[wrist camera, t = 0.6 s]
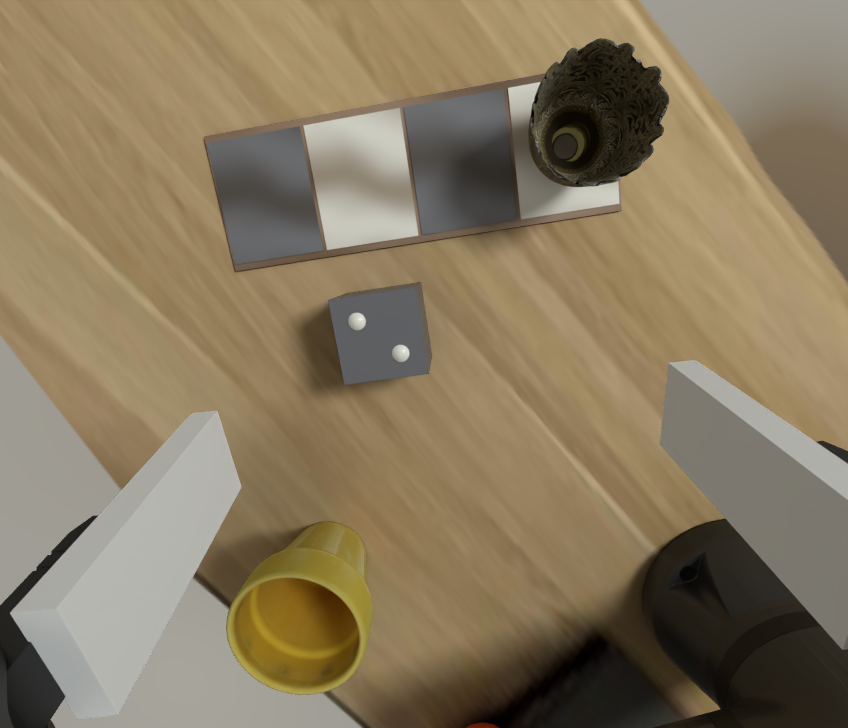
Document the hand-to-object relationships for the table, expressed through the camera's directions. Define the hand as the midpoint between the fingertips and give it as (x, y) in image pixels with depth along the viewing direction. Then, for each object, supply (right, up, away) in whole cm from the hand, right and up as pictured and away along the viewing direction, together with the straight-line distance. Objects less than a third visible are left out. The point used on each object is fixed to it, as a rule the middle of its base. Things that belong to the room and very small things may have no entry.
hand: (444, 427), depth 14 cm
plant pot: (-9, -15, +29) cm, 34 cm away
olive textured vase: (+10, +18, +20) cm, 28 cm away
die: (-3, +5, +24) cm, 25 cm away
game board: (-2, +16, +21) cm, 27 cm away
